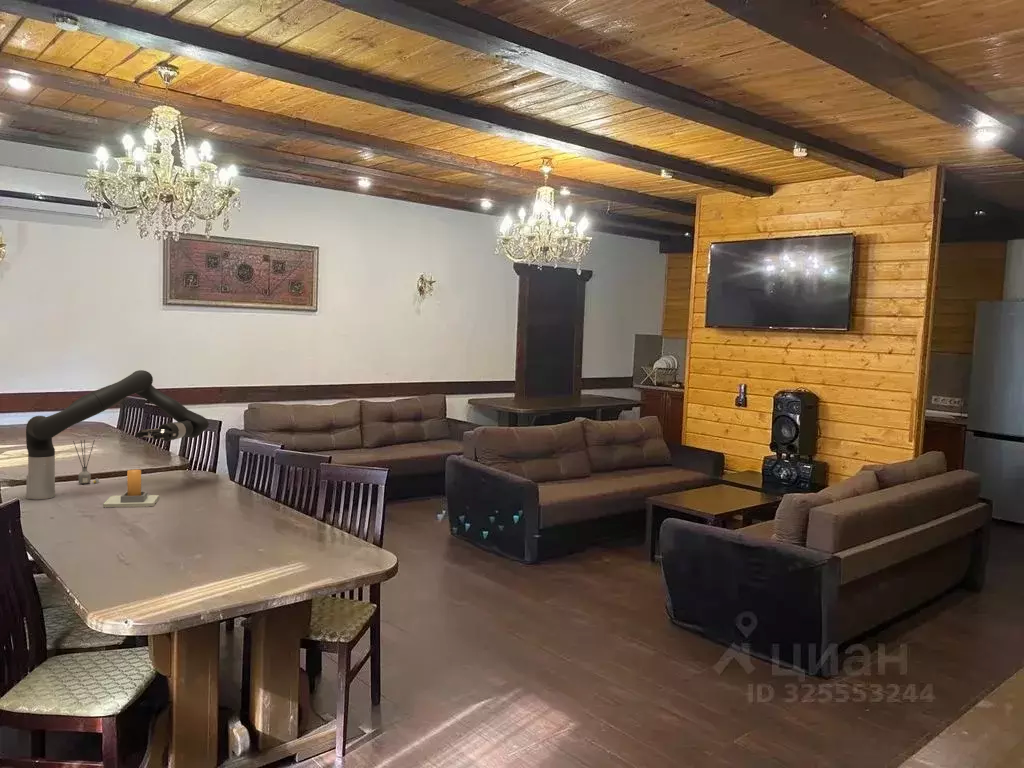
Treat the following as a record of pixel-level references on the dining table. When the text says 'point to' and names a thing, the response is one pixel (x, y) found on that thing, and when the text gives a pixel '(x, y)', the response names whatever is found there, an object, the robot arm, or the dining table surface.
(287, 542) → the dining table surface
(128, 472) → the orange cylinder
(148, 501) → the cream slab
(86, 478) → the reed diffuser
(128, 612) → the dining table surface
